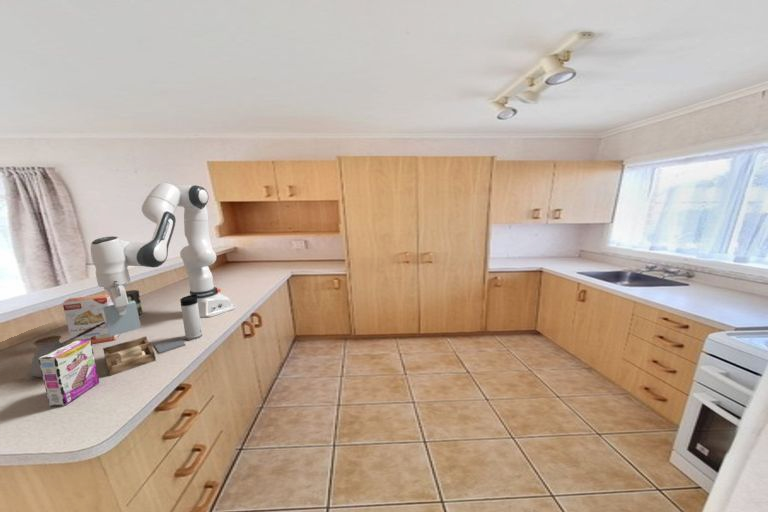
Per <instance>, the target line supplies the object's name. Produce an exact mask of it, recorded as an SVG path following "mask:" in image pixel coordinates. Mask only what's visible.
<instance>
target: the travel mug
mask: <svg viewBox="0 0 768 512" xmlns="http://www.w3.org/2000/svg"><path fill="white" fill-rule="evenodd" d="M179 301H180V309H181V315H182V321H183V327H184V329H183V330H184V335H185V340H187V341H194V339H195V340H198V339H200V338H201V337H202V336H203V334H202V333H203V330H202V323H201V317H200V316H199V309H198V302H197V295H196V294H194V295H190V294H189V295H187V296H184V297H183V296H182V298H181V299H180V300H179ZM197 338H198V339H197Z"/></svg>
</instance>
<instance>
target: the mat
mask: <svg viewBox="0 0 768 512" xmlns="http://www.w3.org/2000/svg"><path fill="white" fill-rule="evenodd" d="M153 345H154V347H155V349H156V351H157V352H158V354H160V355H161V354H164V353H167V352H169V351H172V350H176V349H179V348H181V347H185V346H186V343H185V342H184V341H183V340H182V338H181V337H179V336H178V337H174V338H172V339H171V338H170V339H168V340H164V341H162V342H161V341H160V342H158V343H155V344H153Z"/></svg>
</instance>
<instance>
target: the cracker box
mask: <svg viewBox="0 0 768 512" xmlns="http://www.w3.org/2000/svg"><path fill="white" fill-rule="evenodd" d="M110 305H114V304H113V302H112V300H111V298H110V296H109V294H108V293H107V294H100V295H99V294H98V295H91V296H90V295H88V296H81V297H79V296H78V297H73V298H71V297H70V298H68V299H66V300H65V301H63V302H62V307H63V312H64V315H65V320H66V325H67V329H68V333H69V337H70V338H69V339H71V338H73V337H75V336H77V335H78V334H80V333H82V332H84V331H86V330H87V329H89V328H92V327H94V326H96V325H99V324H101V323H103V322H106V318H105V314H104V310H103V307H106V306H110ZM106 323H107V322H106ZM106 323H105V324H106ZM105 324H103V325H101V326H100V327H97V328H95V329H94V330H92V331H91V332H88V333H86V334H84V335H82V336H80V337H77V338H75V339H74V340H72V341H70V343H72V342H74V341H81V340H91V343H92V345H93V344H98V343H106V342H112V341H115V340H116V339H117V338H119V336H120V335H121V334H117V335H114V336H110V334H109V331H108V327H107V326H106V325H107V324H106V325H105Z"/></svg>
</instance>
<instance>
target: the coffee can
mask: <svg viewBox="0 0 768 512" xmlns="http://www.w3.org/2000/svg"><path fill="white" fill-rule="evenodd" d="M125 291H126V295H127V299H128V302H129V301H135V302H136V306H137V311H138V315H139V318H142V317H143V315H144V313H143V307H142V302H141V296H140V290H136V289H135V290H134V289H133V290H132V289H131V290H125Z"/></svg>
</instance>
